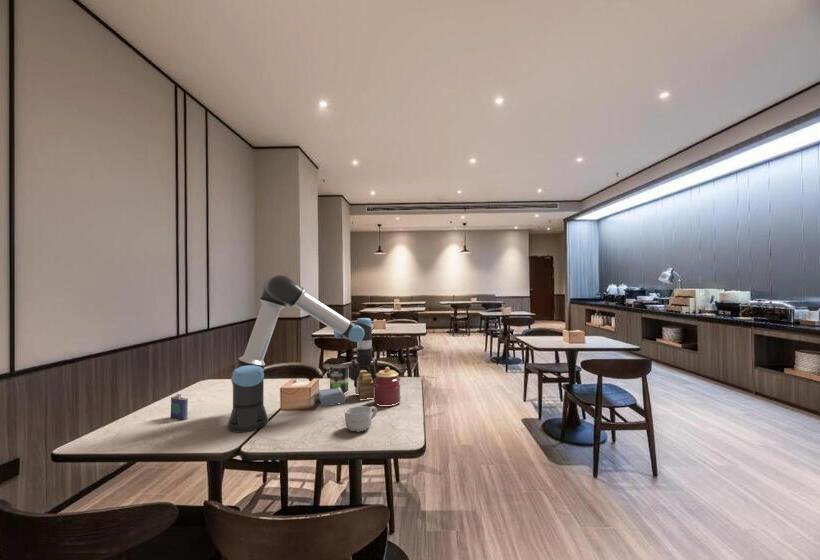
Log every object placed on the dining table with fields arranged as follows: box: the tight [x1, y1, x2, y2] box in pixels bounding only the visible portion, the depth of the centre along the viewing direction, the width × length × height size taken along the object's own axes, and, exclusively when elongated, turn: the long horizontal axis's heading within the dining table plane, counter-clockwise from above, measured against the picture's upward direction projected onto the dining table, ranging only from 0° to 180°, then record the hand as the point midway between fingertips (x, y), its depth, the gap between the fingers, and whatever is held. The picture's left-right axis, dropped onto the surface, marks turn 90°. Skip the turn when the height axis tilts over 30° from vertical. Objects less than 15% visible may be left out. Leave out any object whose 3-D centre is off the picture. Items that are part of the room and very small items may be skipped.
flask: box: [170, 393, 189, 421], centre depth 157 cm, size 9×3×11 cm, turn 68°
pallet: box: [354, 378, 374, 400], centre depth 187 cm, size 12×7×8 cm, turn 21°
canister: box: [373, 366, 401, 405], centre depth 177 cm, size 13×13×18 cm
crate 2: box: [362, 372, 372, 384], centre depth 183 cm, size 4×4×4 cm
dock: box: [318, 387, 346, 407], centre depth 181 cm, size 14×11×4 cm
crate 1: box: [358, 369, 368, 380], centre depth 191 cm, size 4×4×4 cm
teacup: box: [344, 405, 378, 432], centre depth 145 cm, size 14×11×8 cm
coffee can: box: [329, 363, 350, 393], centre depth 196 cm, size 10×10×14 cm
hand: (364, 392), depth 187 cm, fingers closed on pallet, 7 cm apart
